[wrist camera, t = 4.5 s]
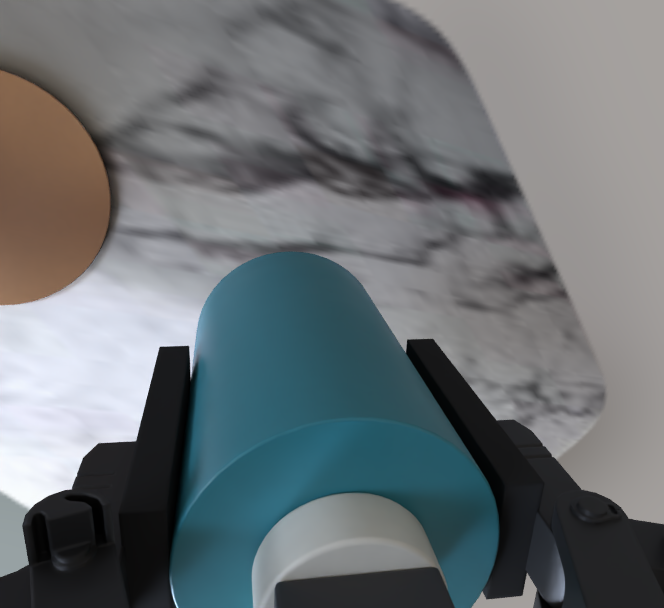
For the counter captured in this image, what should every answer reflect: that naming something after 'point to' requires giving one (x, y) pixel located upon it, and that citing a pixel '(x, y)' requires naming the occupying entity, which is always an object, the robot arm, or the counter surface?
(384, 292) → the counter surface
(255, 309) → the spray bottle
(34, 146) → the coaster
